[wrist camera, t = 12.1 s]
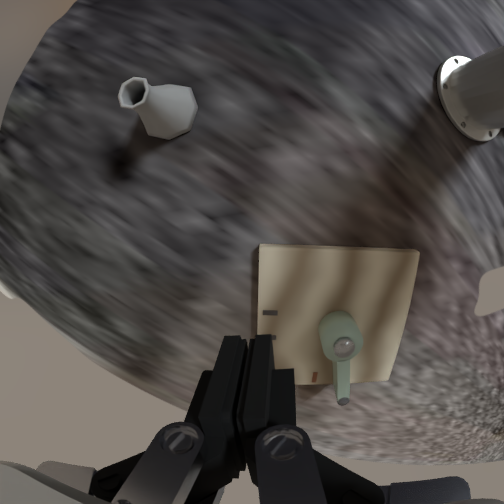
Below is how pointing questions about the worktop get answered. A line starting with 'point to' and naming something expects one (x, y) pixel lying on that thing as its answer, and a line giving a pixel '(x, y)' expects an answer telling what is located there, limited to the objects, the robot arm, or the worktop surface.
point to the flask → (160, 106)
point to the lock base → (334, 305)
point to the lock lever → (340, 349)
